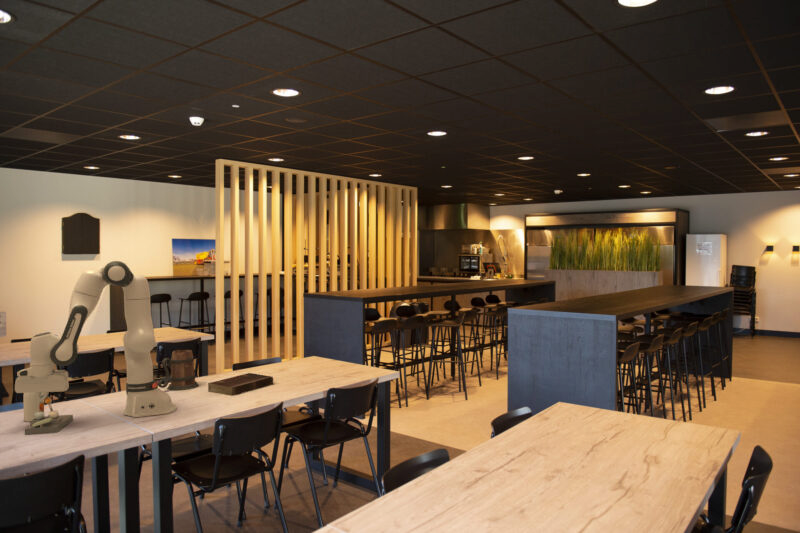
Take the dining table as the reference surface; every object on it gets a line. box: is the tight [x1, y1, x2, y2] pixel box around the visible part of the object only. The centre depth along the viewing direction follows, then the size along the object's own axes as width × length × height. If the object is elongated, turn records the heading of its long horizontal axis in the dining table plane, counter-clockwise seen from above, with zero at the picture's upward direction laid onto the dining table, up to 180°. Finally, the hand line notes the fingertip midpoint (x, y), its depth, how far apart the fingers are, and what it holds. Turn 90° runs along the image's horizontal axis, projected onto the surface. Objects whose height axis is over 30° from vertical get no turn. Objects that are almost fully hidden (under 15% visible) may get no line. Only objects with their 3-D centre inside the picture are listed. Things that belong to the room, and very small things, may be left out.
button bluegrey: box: [35, 411, 45, 420], centre depth 239 cm, size 3×3×2 cm
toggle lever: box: [44, 397, 54, 411], centre depth 246 cm, size 3×3×7 cm
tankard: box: [157, 349, 200, 392], centre depth 310 cm, size 24×17×20 cm
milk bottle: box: [22, 392, 45, 422], centre depth 255 cm, size 8×8×20 cm
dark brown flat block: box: [207, 372, 274, 397], centre depth 308 cm, size 29×19×5 cm, turn 148°
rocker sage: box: [32, 418, 52, 427], centre depth 235 cm, size 6×3×1 cm, turn 101°
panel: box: [24, 412, 74, 436], centre depth 242 cm, size 12×18×4 cm, turn 11°
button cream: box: [48, 410, 59, 418], centre depth 240 cm, size 3×3×2 cm
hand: (42, 402), depth 245 cm, fingers closed
